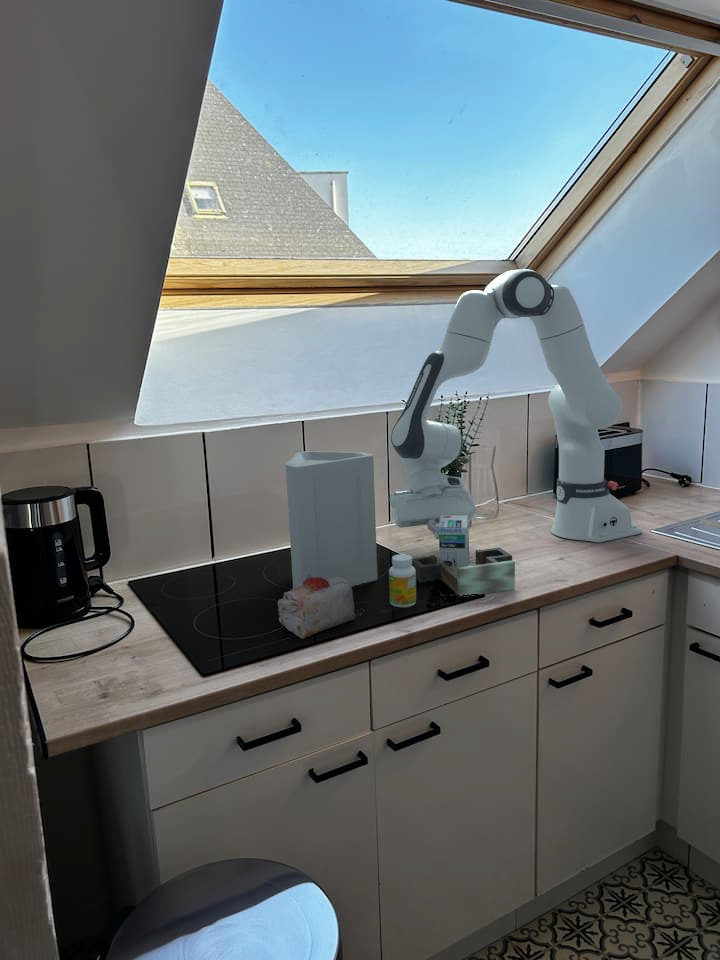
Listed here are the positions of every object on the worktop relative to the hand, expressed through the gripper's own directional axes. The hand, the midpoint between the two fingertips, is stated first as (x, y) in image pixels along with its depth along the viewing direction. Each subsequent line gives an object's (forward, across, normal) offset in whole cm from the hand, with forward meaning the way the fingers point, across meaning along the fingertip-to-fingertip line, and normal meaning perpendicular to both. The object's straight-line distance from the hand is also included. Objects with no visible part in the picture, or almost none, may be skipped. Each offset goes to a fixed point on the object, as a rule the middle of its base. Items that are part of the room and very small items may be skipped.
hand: (442, 537), depth 172 cm
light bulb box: (+8, 0, -1) cm, 8 cm away
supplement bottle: (+20, -18, -13) cm, 30 cm away
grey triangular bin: (+7, -30, 0) cm, 31 cm away
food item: (+24, -36, -17) cm, 47 cm away
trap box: (+14, 0, -8) cm, 16 cm away
